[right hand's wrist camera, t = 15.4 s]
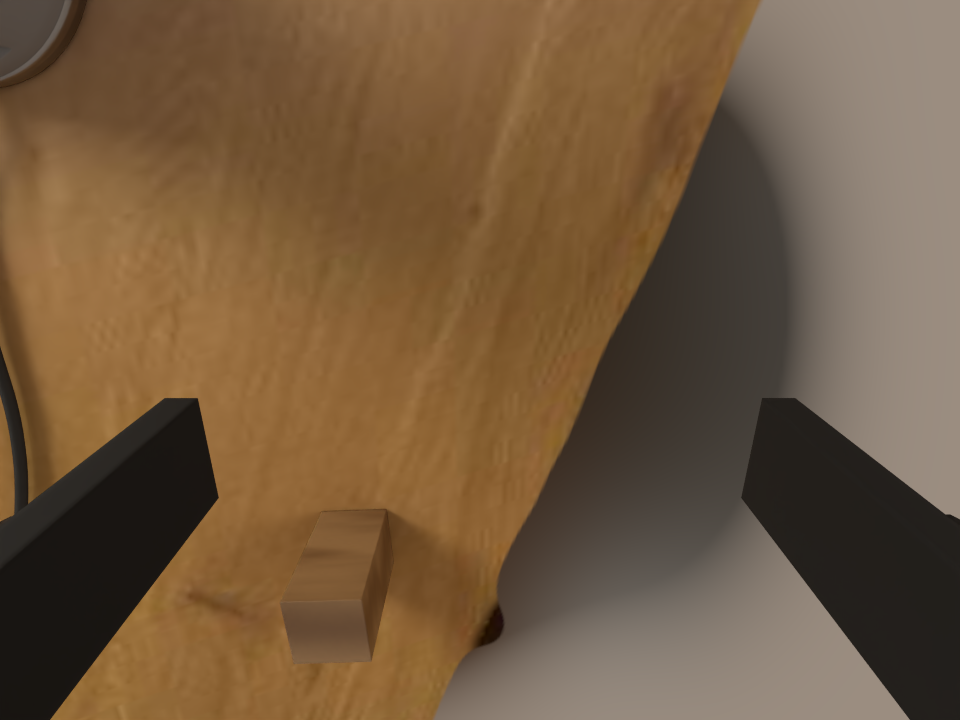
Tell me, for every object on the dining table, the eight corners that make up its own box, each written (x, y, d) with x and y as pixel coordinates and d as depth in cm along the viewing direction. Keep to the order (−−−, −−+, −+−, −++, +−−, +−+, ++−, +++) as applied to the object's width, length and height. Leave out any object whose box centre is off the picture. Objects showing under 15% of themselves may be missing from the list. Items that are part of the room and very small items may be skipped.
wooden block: (393, 562, 41) (371, 661, 33) (331, 564, 41) (293, 664, 33) (386, 508, 39) (361, 599, 31) (321, 511, 39) (279, 602, 31)
